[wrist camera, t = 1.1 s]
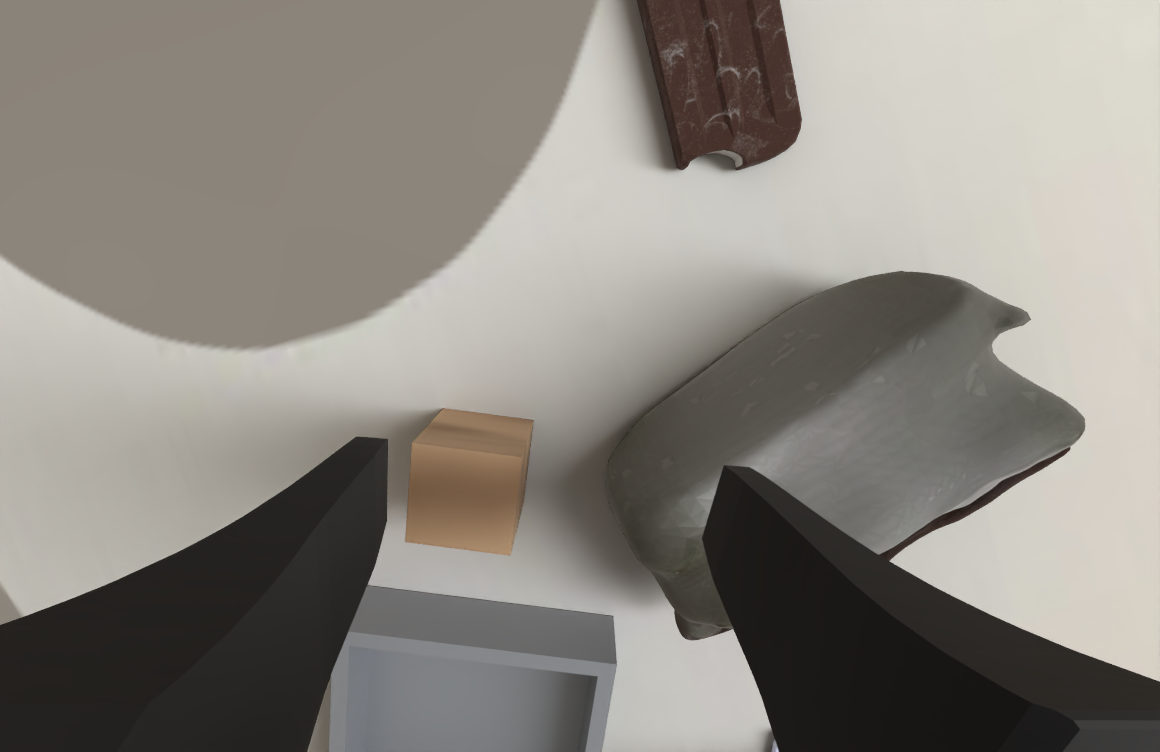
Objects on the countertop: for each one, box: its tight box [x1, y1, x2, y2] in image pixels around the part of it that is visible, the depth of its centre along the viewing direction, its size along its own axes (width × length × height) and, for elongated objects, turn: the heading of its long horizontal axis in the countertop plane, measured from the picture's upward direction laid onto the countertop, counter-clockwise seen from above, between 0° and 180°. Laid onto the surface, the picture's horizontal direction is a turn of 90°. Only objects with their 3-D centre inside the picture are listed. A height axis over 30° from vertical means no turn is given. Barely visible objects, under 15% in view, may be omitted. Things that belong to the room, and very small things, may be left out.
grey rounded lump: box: [606, 271, 1085, 640], centre depth 23 cm, size 18×11×8 cm, turn 128°
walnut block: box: [405, 408, 534, 555], centre depth 25 cm, size 4×4×5 cm
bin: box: [329, 586, 617, 752], centre depth 29 cm, size 14×14×4 cm
